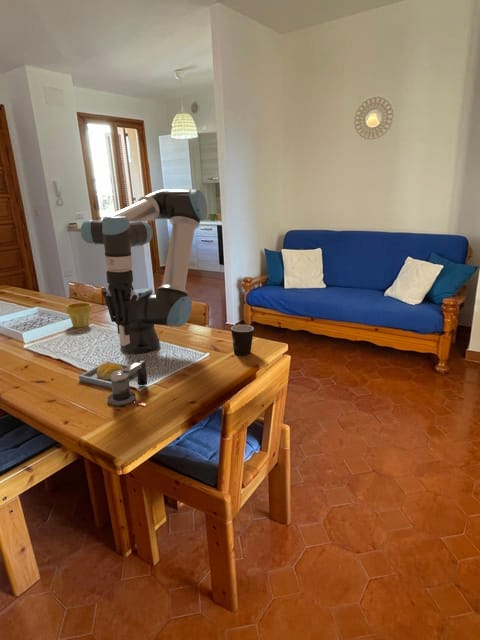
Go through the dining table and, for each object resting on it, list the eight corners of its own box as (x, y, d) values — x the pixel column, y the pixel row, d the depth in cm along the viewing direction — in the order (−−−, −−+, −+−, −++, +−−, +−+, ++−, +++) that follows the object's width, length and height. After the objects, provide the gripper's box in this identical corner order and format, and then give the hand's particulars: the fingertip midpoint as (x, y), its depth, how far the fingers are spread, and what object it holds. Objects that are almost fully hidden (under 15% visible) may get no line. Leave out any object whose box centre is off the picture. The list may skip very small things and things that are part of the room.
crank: (122, 402, 120) (120, 378, 117) (109, 398, 122) (107, 375, 119) (151, 382, 132) (150, 361, 130) (138, 379, 134) (137, 358, 132)
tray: (79, 381, 135) (78, 375, 134) (108, 366, 147) (107, 360, 146) (112, 389, 130) (111, 383, 129) (139, 372, 141) (138, 367, 141)
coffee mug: (251, 357, 155) (251, 332, 152) (228, 356, 156) (228, 331, 153) (256, 347, 166) (256, 323, 163) (235, 345, 167) (235, 321, 164)
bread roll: (110, 368, 144) (109, 357, 142) (128, 374, 139) (127, 363, 138) (90, 376, 137) (89, 365, 136) (109, 383, 132) (108, 371, 131)
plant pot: (84, 320, 198) (81, 301, 195) (97, 324, 192) (95, 304, 189) (64, 326, 190) (61, 305, 187) (77, 330, 184) (74, 309, 181)
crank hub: (102, 403, 121) (99, 382, 119) (120, 391, 128) (118, 371, 126) (136, 412, 116) (135, 390, 114) (153, 399, 123) (152, 379, 121)
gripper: (93, 269, 122) (100, 344, 129) (128, 273, 117) (134, 351, 124) (110, 266, 129) (116, 337, 136) (145, 269, 124) (149, 343, 131)
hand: (125, 344), depth 130 cm, fingers closed
